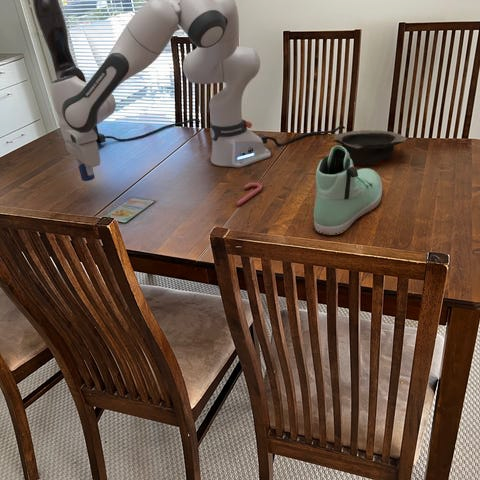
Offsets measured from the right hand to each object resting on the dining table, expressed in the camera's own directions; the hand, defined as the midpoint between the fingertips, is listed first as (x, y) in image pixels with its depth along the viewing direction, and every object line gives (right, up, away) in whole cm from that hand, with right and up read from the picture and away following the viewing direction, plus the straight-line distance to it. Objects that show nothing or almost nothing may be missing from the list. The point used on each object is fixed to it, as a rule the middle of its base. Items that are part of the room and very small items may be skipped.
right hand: (86, 172), depth 155 cm
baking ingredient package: (+15, -13, -7) cm, 21 cm away
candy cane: (+52, -8, -5) cm, 53 cm away
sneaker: (+81, -13, -16) cm, 84 cm away
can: (0, -2, +1) cm, 2 cm away
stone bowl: (+95, +8, +16) cm, 97 cm away
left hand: (-50, +39, +24) cm, 67 cm away
